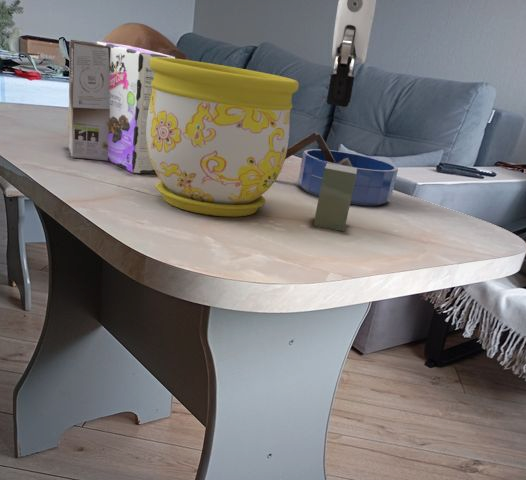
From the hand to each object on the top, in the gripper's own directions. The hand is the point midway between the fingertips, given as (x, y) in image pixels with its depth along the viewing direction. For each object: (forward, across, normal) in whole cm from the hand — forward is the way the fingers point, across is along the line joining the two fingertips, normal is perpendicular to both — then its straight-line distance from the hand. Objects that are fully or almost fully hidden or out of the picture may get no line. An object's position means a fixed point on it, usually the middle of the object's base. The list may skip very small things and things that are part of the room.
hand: (338, 103), depth 95 cm
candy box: (+13, -8, +30) cm, 34 cm away
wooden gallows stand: (+14, 0, +1) cm, 14 cm away
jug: (+13, +14, +33) cm, 38 cm away
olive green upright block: (+14, -22, -2) cm, 26 cm away
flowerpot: (+13, -23, +14) cm, 30 cm away
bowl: (+13, 0, -3) cm, 14 cm away
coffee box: (+13, -6, +38) cm, 40 cm away
